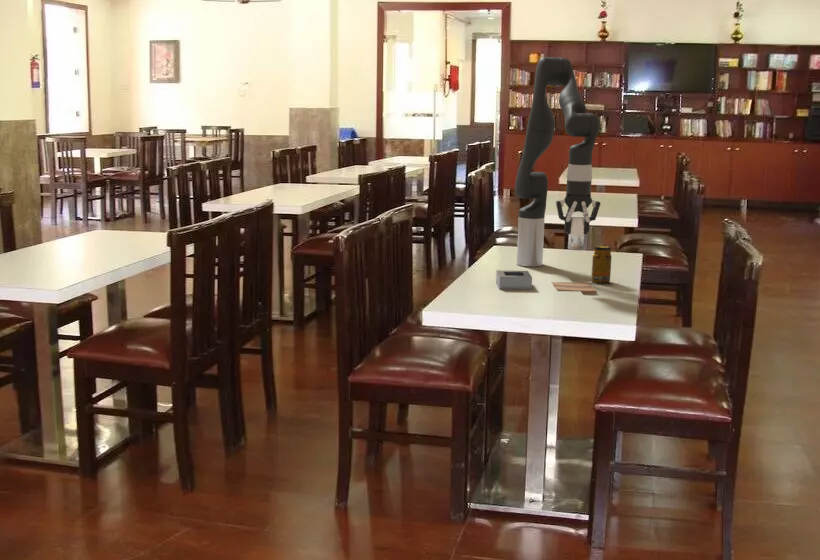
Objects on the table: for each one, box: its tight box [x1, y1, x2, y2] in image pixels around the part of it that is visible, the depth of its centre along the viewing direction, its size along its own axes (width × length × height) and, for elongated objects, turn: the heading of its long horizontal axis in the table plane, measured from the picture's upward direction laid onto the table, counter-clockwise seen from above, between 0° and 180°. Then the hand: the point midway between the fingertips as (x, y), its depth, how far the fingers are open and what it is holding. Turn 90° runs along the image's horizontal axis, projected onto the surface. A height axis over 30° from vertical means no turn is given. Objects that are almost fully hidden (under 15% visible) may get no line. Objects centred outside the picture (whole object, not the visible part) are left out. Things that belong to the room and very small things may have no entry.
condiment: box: [587, 245, 620, 286], centre depth 302 cm, size 7×8×12 cm
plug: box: [567, 215, 585, 251], centre depth 287 cm, size 5×5×10 cm
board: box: [551, 281, 597, 295], centre depth 291 cm, size 12×12×1 cm
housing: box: [495, 269, 533, 291], centre depth 290 cm, size 10×10×5 cm
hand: (576, 233), depth 288 cm, fingers closed on plug, 4 cm apart
